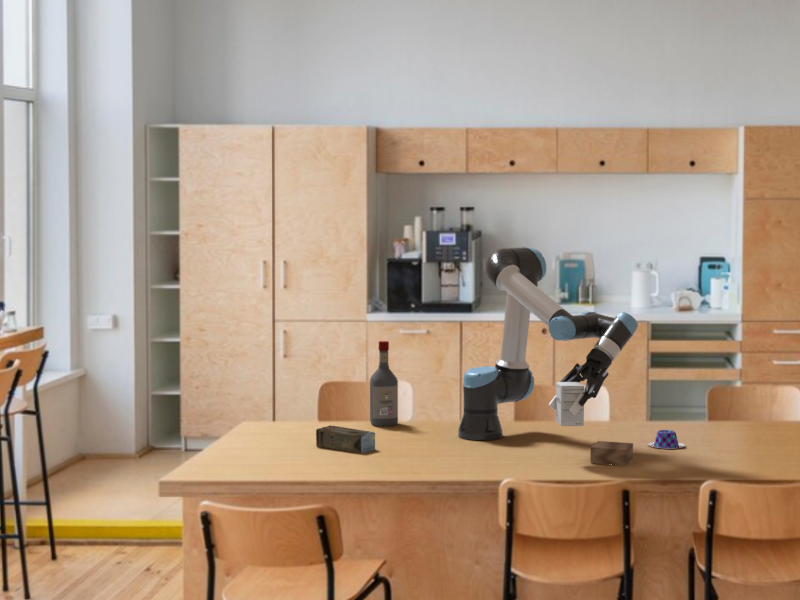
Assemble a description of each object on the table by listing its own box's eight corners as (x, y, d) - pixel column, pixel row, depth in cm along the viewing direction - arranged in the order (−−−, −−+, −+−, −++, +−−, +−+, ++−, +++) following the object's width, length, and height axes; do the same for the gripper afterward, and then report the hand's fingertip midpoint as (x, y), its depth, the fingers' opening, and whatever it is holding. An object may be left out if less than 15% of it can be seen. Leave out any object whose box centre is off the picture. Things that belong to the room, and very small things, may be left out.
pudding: (668, 452, 396) (668, 436, 395) (639, 446, 405) (640, 430, 405) (692, 447, 403) (692, 431, 403) (663, 441, 412) (664, 426, 412)
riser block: (590, 463, 377) (590, 447, 377) (597, 456, 388) (598, 440, 387) (626, 466, 373) (626, 450, 373) (632, 459, 384) (633, 443, 383)
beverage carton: (361, 454, 393) (361, 433, 392) (314, 447, 404) (314, 427, 403) (376, 450, 399) (376, 430, 399) (329, 443, 410) (329, 423, 410)
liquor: (398, 425, 440) (398, 342, 438) (373, 427, 438) (373, 343, 436) (393, 421, 449) (393, 339, 447) (369, 422, 447) (368, 340, 445)
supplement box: (555, 422, 382) (555, 381, 381) (578, 421, 382) (579, 381, 381) (560, 426, 374) (560, 385, 373) (584, 426, 375) (584, 385, 374)
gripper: (632, 367, 375) (591, 423, 368) (586, 358, 394) (546, 412, 387) (619, 351, 372) (578, 407, 365) (573, 343, 391) (533, 396, 384)
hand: (561, 409), depth 376 cm, fingers closed on supplement box, 9 cm apart
